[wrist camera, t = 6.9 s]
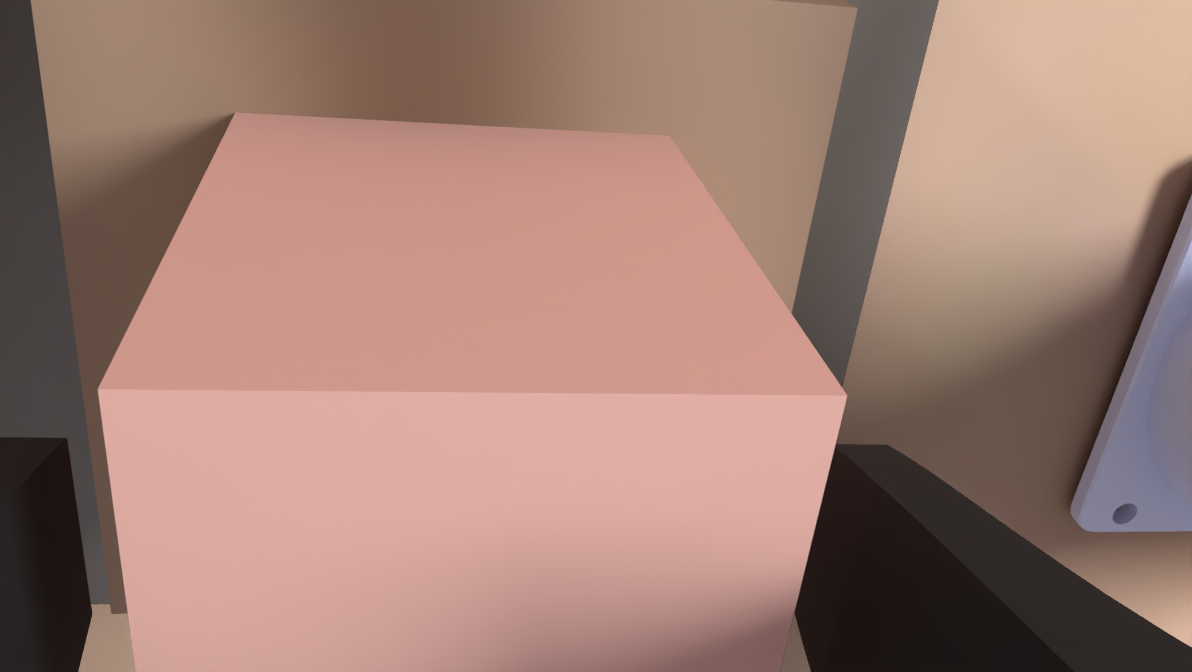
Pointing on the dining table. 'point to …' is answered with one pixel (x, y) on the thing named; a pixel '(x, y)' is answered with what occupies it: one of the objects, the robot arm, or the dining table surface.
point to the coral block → (461, 412)
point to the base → (428, 95)
